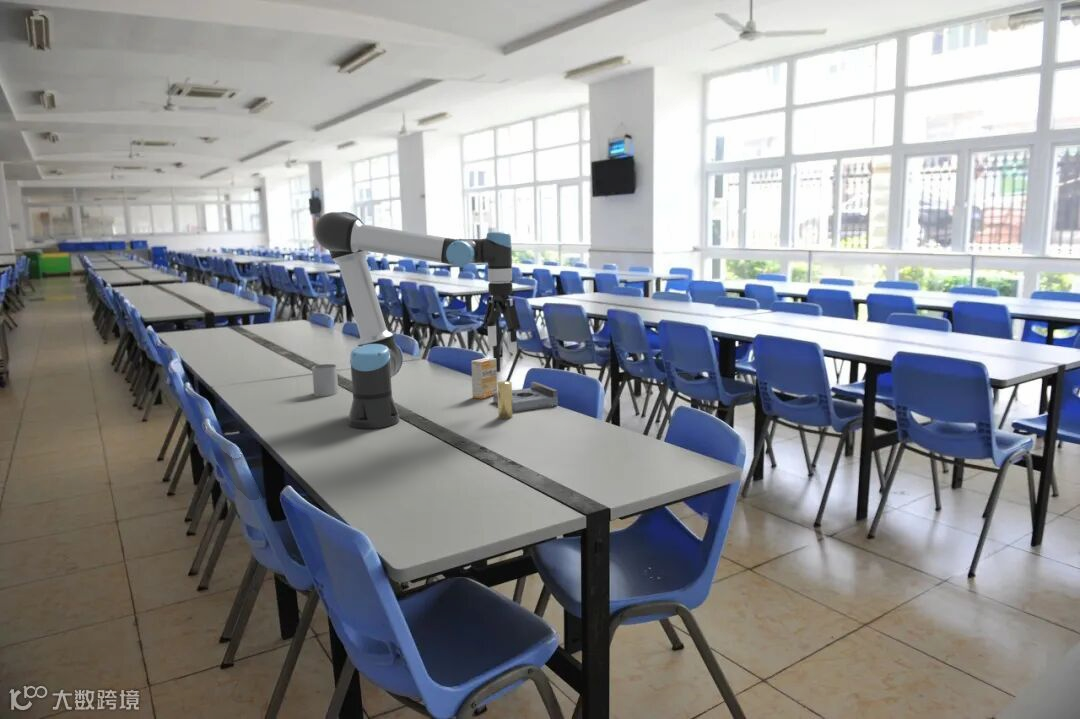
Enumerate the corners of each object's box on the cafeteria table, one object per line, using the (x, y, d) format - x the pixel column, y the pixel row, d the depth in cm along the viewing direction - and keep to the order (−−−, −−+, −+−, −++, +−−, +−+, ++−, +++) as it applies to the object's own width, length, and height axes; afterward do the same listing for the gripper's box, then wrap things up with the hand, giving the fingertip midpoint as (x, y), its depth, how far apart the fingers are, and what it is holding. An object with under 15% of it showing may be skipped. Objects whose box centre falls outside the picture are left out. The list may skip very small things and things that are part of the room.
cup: (341, 391, 273) (339, 364, 271) (333, 396, 265) (331, 368, 263) (319, 390, 274) (317, 364, 272) (310, 396, 266) (308, 368, 264)
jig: (514, 412, 239) (513, 396, 238) (493, 401, 253) (492, 387, 252) (557, 405, 246) (557, 390, 245) (535, 395, 260) (534, 381, 259)
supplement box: (482, 399, 256) (481, 361, 254) (472, 397, 259) (470, 360, 257) (498, 394, 263) (497, 358, 260) (487, 392, 265) (486, 356, 263)
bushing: (502, 419, 230) (501, 384, 228) (496, 416, 234) (495, 382, 232) (514, 417, 232) (514, 383, 230) (508, 414, 236) (507, 380, 234)
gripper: (530, 283, 225) (532, 353, 229) (492, 278, 246) (494, 342, 250) (508, 285, 221) (510, 356, 225) (472, 280, 242) (474, 344, 246)
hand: (502, 349), depth 238 cm, fingers open, 13 cm apart
